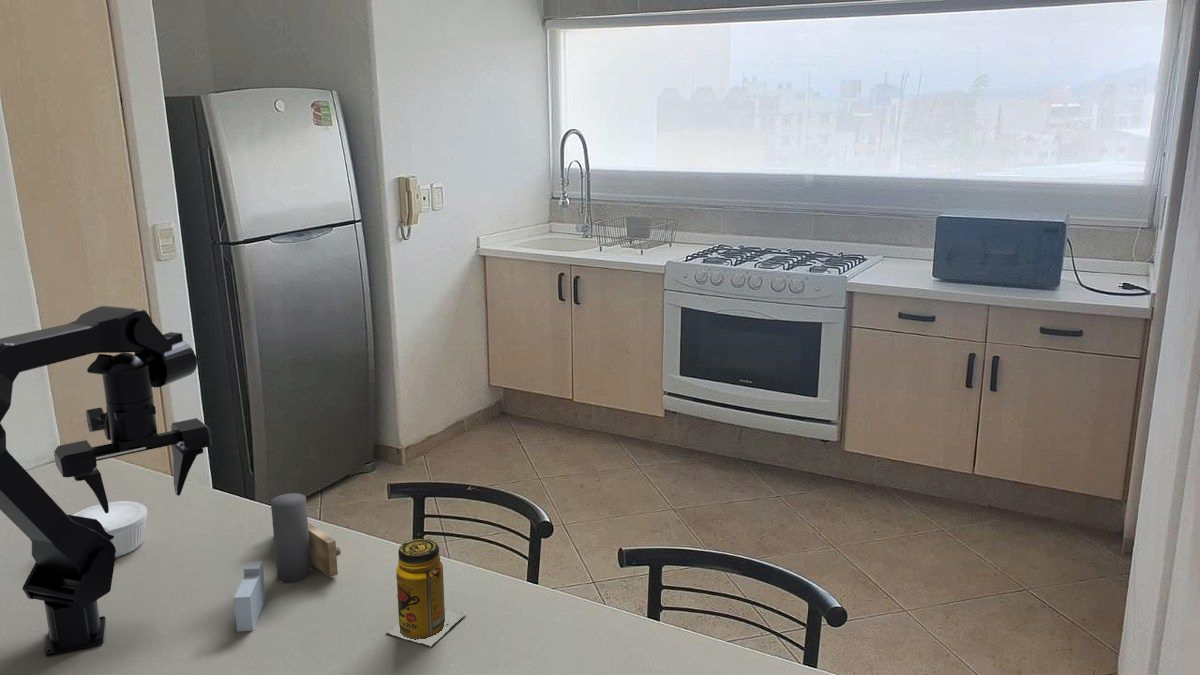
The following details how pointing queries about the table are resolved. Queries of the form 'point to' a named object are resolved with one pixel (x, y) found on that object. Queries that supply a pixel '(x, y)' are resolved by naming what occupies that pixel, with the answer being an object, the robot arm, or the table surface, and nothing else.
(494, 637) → the table surface
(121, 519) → the ramekin
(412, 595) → the condiment
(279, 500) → the gray cylinder
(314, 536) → the door
